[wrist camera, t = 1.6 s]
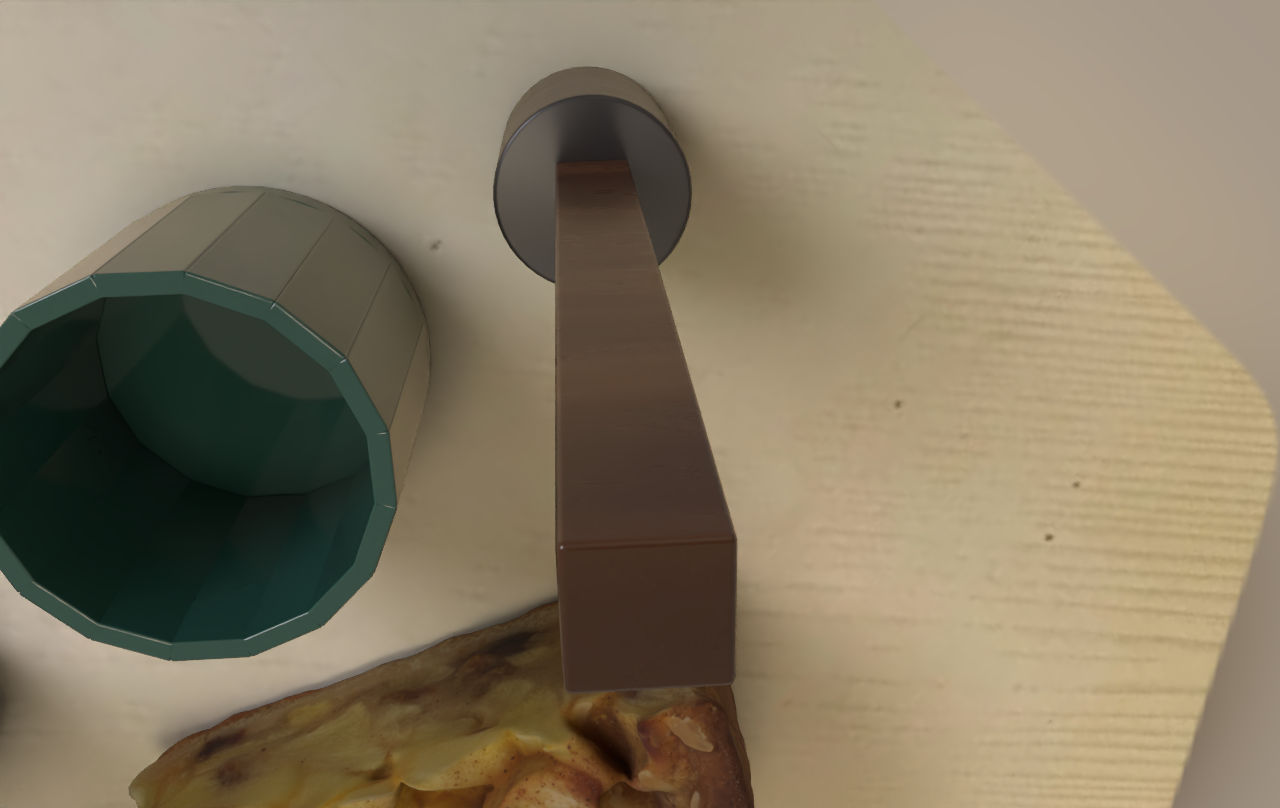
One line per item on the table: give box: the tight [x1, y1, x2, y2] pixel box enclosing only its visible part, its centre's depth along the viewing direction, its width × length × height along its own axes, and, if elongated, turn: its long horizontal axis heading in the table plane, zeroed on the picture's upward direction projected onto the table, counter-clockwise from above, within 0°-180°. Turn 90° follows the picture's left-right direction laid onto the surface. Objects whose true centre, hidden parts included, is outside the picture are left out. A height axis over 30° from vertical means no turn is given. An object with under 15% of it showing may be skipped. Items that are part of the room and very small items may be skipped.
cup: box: [0, 186, 430, 661], centre depth 29 cm, size 9×9×8 cm
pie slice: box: [129, 601, 754, 808], centre depth 34 cm, size 18×10×8 cm, turn 94°
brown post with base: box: [493, 67, 737, 694], centre depth 21 cm, size 4×4×22 cm
